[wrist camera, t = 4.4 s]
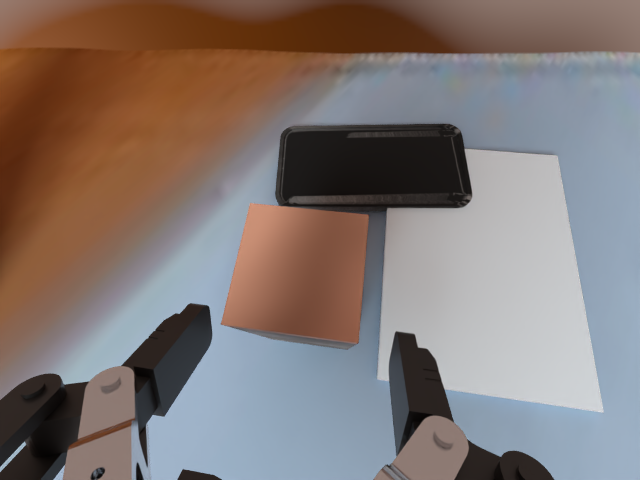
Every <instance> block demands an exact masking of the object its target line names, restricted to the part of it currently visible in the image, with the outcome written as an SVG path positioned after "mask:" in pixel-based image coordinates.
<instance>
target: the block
mask: <svg viewBox="0 0 640 480" xmlns="http://www.w3.org/2000/svg"><path fill="white" fill-rule="evenodd" d="M368 220H369V215H366V214H356V213H345V212H335V211H325V210H315V209H304V208H294V207H284V206H273V205H263V204H253V203H250V206H249V210H248V214H247V218H246V223H245V227H244V231H243V235H242V239H241V243H240V247H239V252H238V256H237V260H236V264H235V268H234V272H233V277H232V281H231V285H230V289H229V293H228V297H227V301H226V306H225V310H224V314H223V318H222V322H221V325H225V326H228V327H232V328H235V329H239V330H242V331H246V332H249V333H253V334H256V335H260V336H263V337H267V338H270V339H274V340H281V341H288V342H295V343H303V344H310V345H317V346H324V347H332V348H339V349H346V350H348V349H349V348H351V347H353V346H354V345H356V344H358V343H359V330H360V318H361V306H362V293H363V281H364V269H365V257H366V244H367V232H368Z"/></svg>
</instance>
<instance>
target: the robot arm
mask: <svg viewBox="0 0 640 480" xmlns="http://www.w3.org/2000/svg"><path fill="white" fill-rule="evenodd" d="M211 340H212V326H211V317H210V309H209V307H208V306H207V305H200V304H192V303H190V304H188V305H187V306H186V308H185V309H184V310H183V311H182V312H181V313H180V314H174V315H172V316H171V317H169V318H167V319H166V320H164V321H163V322H162V323H161V324H160V325H159V326H158V327H157V328H156V331H154V332H153V333H152V334H151V335H150V336H149V338H148V339H146V340H145V341H144V342H143V343H142V344H141V346H140V347H139V348H138V349H137V350H136V351H135V352H134V353H133V354H132V355H131V356H130V357H129V358H128V359H127V360H126V361H125V363H124V364H123V365H122V366H118V367H113V368H109V369H107V370H105V371H102V372H101V373H99V374H98V375H96V376H95V377H94V378H92V379H91V381H90V382H82V383H74V384H66V385H64V384H63V381H62V379H61V377H60V376H59V375H57V374H43V375H39V376H36V377H33V378H30V379H28V380H26V381H24V382H23V383H21V384H19V385H18V386H17V387H15V388H14V389H13V390H12V391H10V392H9V393H8V394H7V395H6V396H5V397H3V398H2V399H1V400H0V466H1V465H2V464H3V463H4V462H5V461H6V460H7V459H8V458H9V457H10V456H11V455H12V454H13V453H14V452H15V451H16V450H17V449H18V447H19V446H20V445H21V444H22V443H23V442H24V441H25V443H26V446H25V447H24V448H23V449H22V450H21V451H20V452H19V453H18V454H17V455H16V456H15V457H14V458H13V459H12V460H11V462H10V463H9V464H8V465H7V466H6V467H5V468H4V469H3V470H2V471H1V472H0V480H53V479H54V478H55V477H56V475H57V474H58V473H59V471H60V470H61V469H62V468H63V466H64V465H65V469H64V475H63V480H151V471H150V453H149V436H148V425H147V422H148V421H149V419H150V418H151V416H152V415H157V416H163V417H164V416H165V415H166V413H167V412H168V410H169V408H170V407H171V405H172V404H173V402H174V401H175V399H176V398H177V396H178V394H179V393H180V391H181V390H182V388H183V387H184V385H185V384H186V382H187V381H188V379H189V377H190V376H191V374H192V373H193V371H194V370H195V368H196V367H197V365H198V363H199V362H200V360H201V359H202V357H203V356H204V354H205V353H206V351H207V350H208V348H209V346H210V343H211ZM389 383H390V394H391V404H392V415H393V425H394V435H395V446H396V456H397V457H396V458H395V460H394V461H393V463H392V464H391V465H390V466H389V465H385V466H384V467H383V468H382V469H381V470H380V471H379V473H378V474H377V475H376V477H375V478H374V479H373V480H554V478H553V477H552V476H551V474H550V473H549V472H548V470H547V469H546V468H545V467H544V466H543V465H542V464H541V463H539V462H538V461H537V460H535V459H534V458H533V457H531V456H529V455H527V454H525V453H522V452H519V451H508V452H506V453H504V454H503V455H502V457H499V456H497V455H495V454H493V453H491V452H488V451H486V450H484V449H482V448H480V447H478V446H476V445H474V444H473V443H471V442H470V441H469V440H468V439H467V438H466V436H465V434H464V433H463V431H462V430H461V429H460V428H459V427H458V426H457V425H456V424H455V423H454V421H453V418H452V414H451V411H450V407H449V404H448V400H447V397H446V393H445V390H444V386H443V383H442V380H441V376H440V373H439V369H438V366H437V362H436V359H435V358H434V357H433V355H432V354H431V353H430V351H429V350H428V349H426V348H419V347H418V345H417V341H416V337H415V334H413V333H405V332H398V331H396V332H395V335H394V339H393V344H392V349H391V354H390V359H389ZM178 480H222V479H220V478H218V477H216V476H215V475H210V474H205V473H200V472H195V471H189V470H184V469H183V470H182V472H181V474H180V476H179V478H178Z"/></svg>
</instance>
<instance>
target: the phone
mask: <svg viewBox="0 0 640 480" xmlns="http://www.w3.org/2000/svg"><path fill="white" fill-rule="evenodd" d="M275 194H276V199H277V202H278V204H279V206H284V207H294V208H304V209H315V210H325V211H387V208H462V207H464V206H466V205H467V204H468V203H469V202H470V201H471V199H472V188H471V182H470V177H469V171H468V166H467V160H466V155H465V149H464V144H463V138H462V134H461V131H460V130H459V129H458V128H457V127H455V126H453V125H450V124H409V125H343V126H293V127H289V128H287V129H286V130H284V131H283V133H282V134H281V139H280V149H279V160H278V171H277V182H276V192H275Z"/></svg>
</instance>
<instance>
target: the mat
mask: <svg viewBox="0 0 640 480" xmlns="http://www.w3.org/2000/svg"><path fill="white" fill-rule="evenodd" d="M465 155H466V160H467V166H468V171H469V177H470V182H471V188H472V199H471V201H470V202H469V203H468V204H467V205H466V206H464V207H462V208H387V211H386V227H385V244H384V261H383V278H382V295H381V312H380V329H379V346H378V363H377V379H378V380H384V381H389V359H390V354H391V349H392V344H393V339H394V335H395V332H396V331H398V332H405V333H413V334H415V337H416V341H417V345H418V347H419V348H426V349H428V350H429V351H430V353H431V354H432V355H433V357H434V358H435V359H436V362H437V366H438V369H439V373H440V376H441V380H442V383H443V386H444V389H446V390H453V391H460V392H466V393H473V394H480V395H487V396H494V397H501V398H507V399H514V400H521V401H528V402H535V403H542V404H549V405H555V406H562V407H569V408H576V409H583V410H590V411H597V412H603V413H604V411H603V406H602V400H601V395H600V389H599V384H598V378H597V372H596V367H595V361H594V356H593V350H592V345H591V339H590V334H589V328H588V323H587V317H586V312H585V306H584V300H583V295H582V289H581V284H580V278H579V273H578V267H577V262H576V256H575V251H574V245H573V239H572V234H571V228H570V223H569V217H568V212H567V206H566V201H565V195H564V190H563V184H562V178H561V173H560V167H559V162H558V156H554V155H541V154H528V153H515V152H501V151H488V150H475V149H465Z"/></svg>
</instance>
